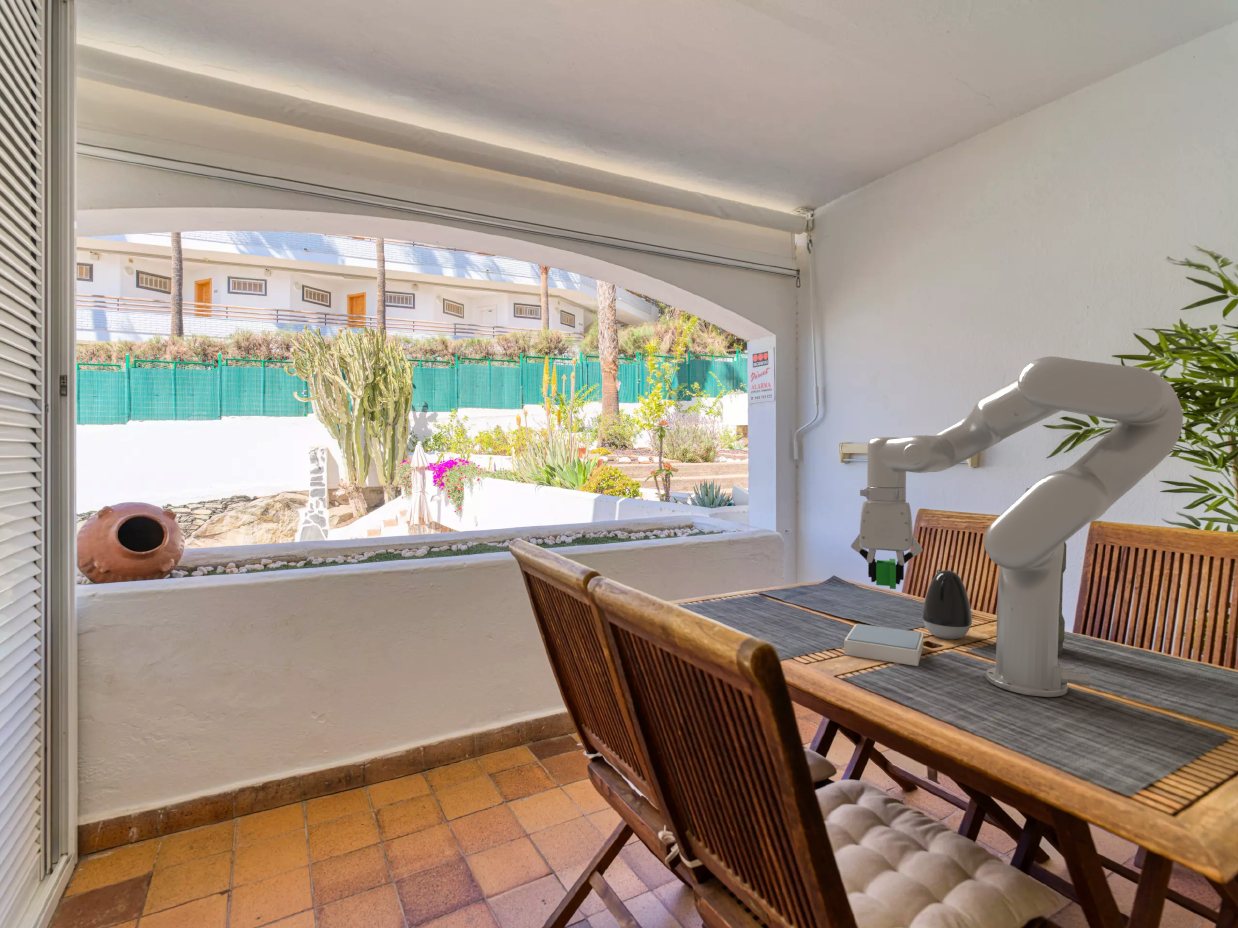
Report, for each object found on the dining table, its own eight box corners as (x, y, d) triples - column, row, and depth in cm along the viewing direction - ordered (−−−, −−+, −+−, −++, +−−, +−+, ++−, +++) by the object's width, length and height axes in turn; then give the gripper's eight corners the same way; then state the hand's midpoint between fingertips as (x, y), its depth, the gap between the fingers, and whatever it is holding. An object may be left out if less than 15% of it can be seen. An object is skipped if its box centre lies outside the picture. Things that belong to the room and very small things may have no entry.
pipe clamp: (876, 578, 142) (876, 557, 142) (895, 579, 140) (895, 558, 140) (875, 587, 132) (876, 565, 132) (895, 589, 130) (896, 566, 130)
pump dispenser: (959, 630, 153) (961, 566, 152) (979, 643, 142) (981, 575, 142) (914, 628, 154) (916, 565, 153) (931, 641, 143) (933, 574, 143)
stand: (923, 647, 140) (923, 631, 139) (917, 666, 127) (918, 649, 127) (855, 637, 146) (855, 622, 146) (844, 654, 134) (844, 638, 134)
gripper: (841, 495, 136) (841, 581, 137) (929, 498, 129) (928, 589, 129) (847, 493, 143) (847, 575, 143) (931, 495, 135) (930, 582, 135)
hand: (885, 581), depth 136 cm, fingers closed on pipe clamp, 4 cm apart
